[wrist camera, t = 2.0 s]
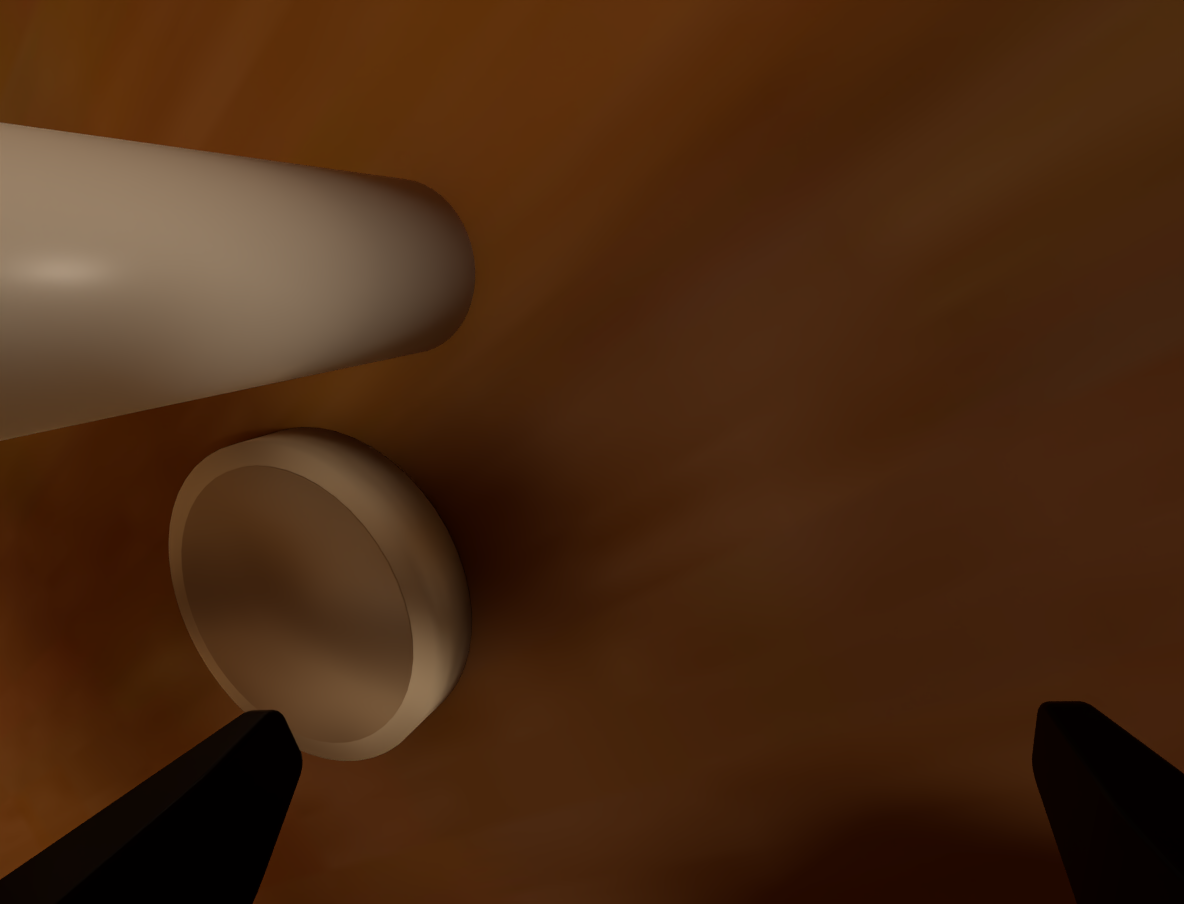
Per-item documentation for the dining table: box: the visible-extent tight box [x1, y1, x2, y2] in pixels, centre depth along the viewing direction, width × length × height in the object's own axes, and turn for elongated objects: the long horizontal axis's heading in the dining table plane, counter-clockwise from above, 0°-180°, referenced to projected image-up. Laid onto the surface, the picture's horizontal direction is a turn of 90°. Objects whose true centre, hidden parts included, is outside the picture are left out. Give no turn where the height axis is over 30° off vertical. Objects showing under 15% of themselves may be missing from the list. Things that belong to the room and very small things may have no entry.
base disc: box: [168, 427, 472, 761], centre depth 26 cm, size 12×12×2 cm
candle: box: [0, 123, 475, 441], centre depth 16 cm, size 5×5×14 cm
